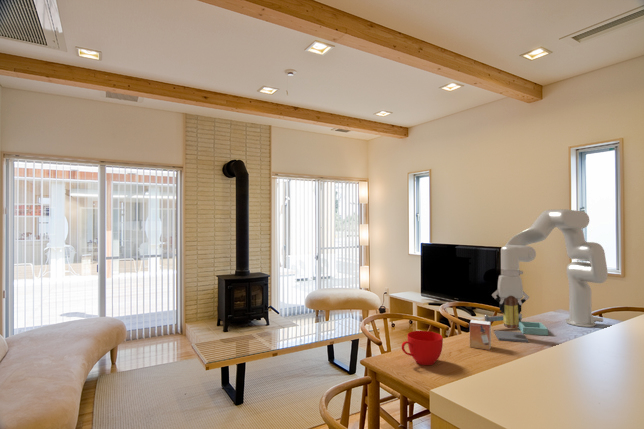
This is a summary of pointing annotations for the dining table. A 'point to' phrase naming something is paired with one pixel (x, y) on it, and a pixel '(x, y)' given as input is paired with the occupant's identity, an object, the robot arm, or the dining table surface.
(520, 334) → the pad
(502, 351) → the dining table surface
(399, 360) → the dining table surface
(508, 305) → the sauce bottle
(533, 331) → the teal square frame
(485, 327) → the small box
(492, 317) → the bar
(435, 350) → the ceramic cup
